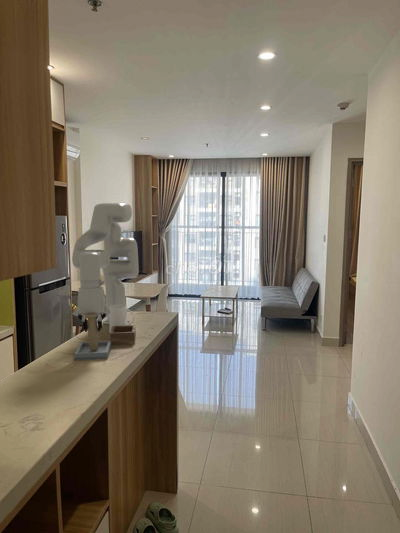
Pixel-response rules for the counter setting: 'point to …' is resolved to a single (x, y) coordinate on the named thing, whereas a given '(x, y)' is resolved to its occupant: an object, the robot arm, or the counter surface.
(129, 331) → the holder
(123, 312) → the mug
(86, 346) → the tray
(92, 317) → the handle
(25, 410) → the counter surface
